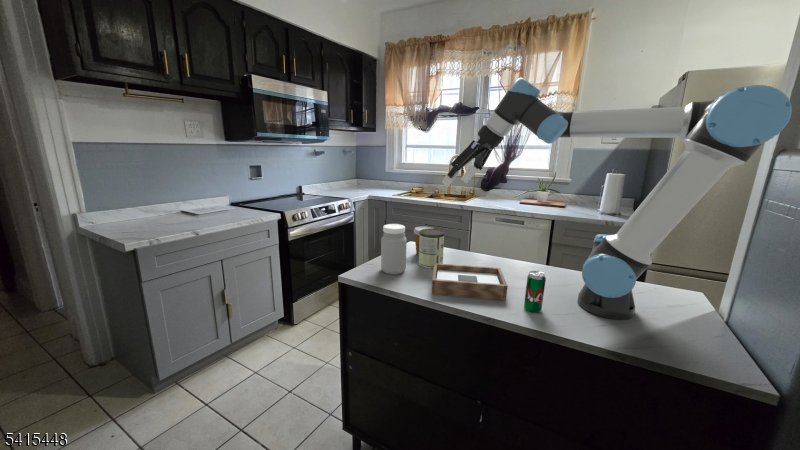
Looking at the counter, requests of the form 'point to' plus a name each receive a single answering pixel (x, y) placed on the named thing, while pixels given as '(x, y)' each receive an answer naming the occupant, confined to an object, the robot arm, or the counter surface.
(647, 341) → the counter surface
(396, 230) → the jar
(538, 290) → the soda can
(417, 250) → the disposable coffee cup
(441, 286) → the open box
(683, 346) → the counter surface
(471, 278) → the socket plate
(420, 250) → the coffee can
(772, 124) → the robot arm
